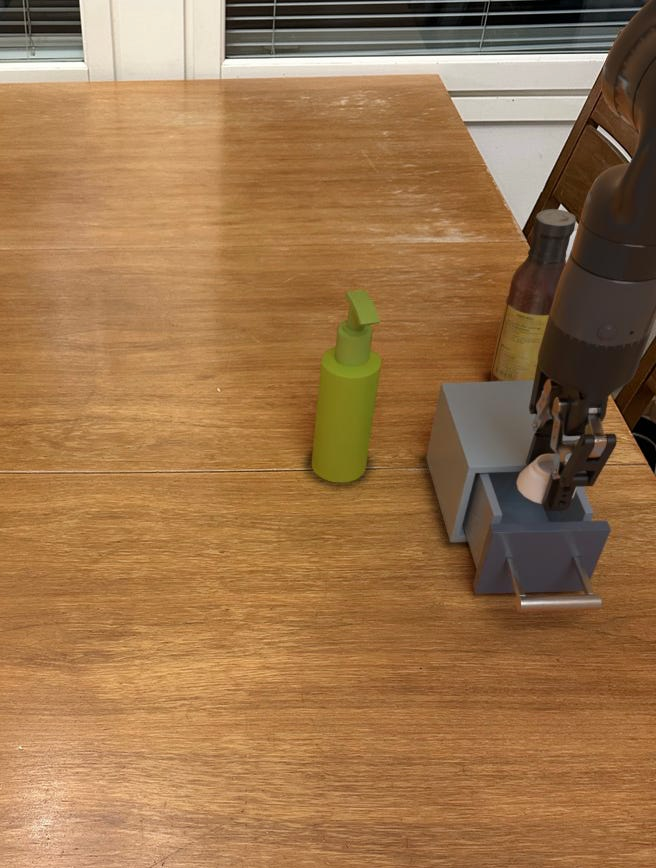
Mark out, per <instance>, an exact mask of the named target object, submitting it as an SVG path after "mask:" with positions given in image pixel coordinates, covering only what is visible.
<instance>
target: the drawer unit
mask: <svg viewBox="0 0 656 868" xmlns="http://www.w3.org/2000/svg"><path fill="white" fill-rule="evenodd" d="M533 384H534V380H524V381H491V380H490V381H462V382H441V383H440V387H439V392H438V396H437V402H436V407H435V411H434V418H433V422H432V427H431V431H430V436H429V441H428V446H427V451H426V456H425V459H426V462H427V466H428V469H429V473H430V476H431V480H432V483H433V487H434V490H435V494H436V497H437V501H438V505H439V508H440V512H441V515H442V518H443V522H444V525H445V530H446V532H447V536H448V539H449V543H468V540H467V536H466V533H465V530H464V526H463V520H464V516H465V513H466V509H467V505H468V501H469V497H470V493H471V489H472V485H473V481H474V477H475V473H498V472H522V471H523V470H524V469H525V468H526V467H527V465H526V459H527V456H528V453H529V449H530V446H531V443H532V440H533V436H534V433H536V432H534V431H533V427H532V424H533V420H534V418H535V416H536V414H530V411H529V405H530V400H531V395H532V389H533ZM543 392H544V390H543V391H542V394H543ZM579 438H580V436H564V435H563V441H567V440H576V439H579ZM571 454H572V453H568V454H567V455H566V457H565V458H566V459H567V460H569V458H570V456H571ZM586 487H587V486H583V489H584V491H585V489H586Z"/></svg>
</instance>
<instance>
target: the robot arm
mask: <svg viewBox="0 0 656 868" xmlns="http://www.w3.org/2000/svg"><path fill="white" fill-rule="evenodd" d="M600 82H601V85H600V86H601V92H602V96H603V99H604V101H605V103H606V104H607V106H608V107H609V110H611V111H612V112H613V113H614V114H615V115H616V116H617V117H618V118H620V120H621V121H623V122H624V123H625V124H627V125H628V126H629V127H630V128H631V129H632V130H634V131H635V132H636V133H637V134H638V137H637V138H638V139H637V143H636V148H635V150H634V152H633V156H632V158H631V159H630V161H629V162H624V163H621V164H620V163H619V164H617V165H613V166H611V167H609V168H607V169H606V170H604V171H603V172H601V173H600V174H599V175H598V176H596V179H595V180H594V182H593V183H592V184H591V186H590V189H589V190H588V193H587V195H586V198H585V201H584V204H583V208H582V211H581V215H580V217H579V222H578V226H577V229H576V232H575V236H574V239H573V243H572V247H571V250H570V252H569V255H568V258H567V259H566V265H565V267H564V269H563V271H562V274H561V276H560V279H559V282H558V285H557V289H556V293H555V296H554V300H553V303H552V307H551V310H550V314H549V317H548V321H547V324H546V328H545V331H544V335H543V338H542V342H541V346H540V349H539V353H538V362H537V368H536V373H535V378H534V384H533V389H532V395H531V400H530V405H529V411H530V414H536V416H535V418H534V420H533V424H532V427H533V431H534V432H536V433H534V436H533V440H532V443H531V446H530V449H529V453H528V456H527V459H526V465H527V466H528V465H529V464H531V463H532V462H533V461H535V459H536V458H537V457H539V456H540V455H543V454H555V456H554V462H553V469H552V473H551V475H550V478H549V481H548V484H547V488H546V491H545V494H544V497H543V500H542V505H543V508H544V510H545V511H563V510H566V509H567V508H568V507H569V506H570V503H571V500H572V497H573V494H574V491H575V489H576V487H583V486H586V487H593V486H594V485H595V484H596V481H597V480H598V478H599V476H600V474H601V472H602V471H603V469H604V468H605V466H606V464H607V462H608V460H609V458H610V457H611V455H612V453H613V451H614V450H615V448H616V446H617V441H618V440H617V435H616V433H615V432H614V433H605V431H604V427H603V424H602V423H603V421H604V420H605V418H606V414H607V409H608V403H609V397H610V396H611V395H612V394H613V393H615V392H616V391H617V390H619V389H621V388H623V387H624V386H627V384H628V383H630V382H631V381H632V380H633V379H634V378H635V376H636V374H637V372H638V371H637V370H638V368H639V365H640V363H641V359H642V357H643V355H644V352H645V349H646V346H647V344H648V341H649V339H650V336H651V332H652V330H653V328H654V325H655V323H656V0H649V1H648V2H647V3H645V4H644V5H643V6H642V7H641V8H640V9H639V10H638V11H637V12H636V14H634V15H633V17H632V18H631V19H630V20H629V21H628V22H627V24H626V25H625V26H624V27H623V29H622V30H621V32H620V33H619V35H618V36H617V38H616V39H615V41H614V42H613V44H612V46H611V48H610V50H609V52H608V54H607V56H606V59H605V62H604V65H603V68H602V72H601V80H600ZM543 390H544V392H543V394H542V391H543ZM563 435H564V436H580V438H579V439H576V440H567V441H563ZM568 453H572V454H571V456H570V458H569V460H568V462H567V463H566V465H564V463H565V457H566V455H567V454H568Z"/></svg>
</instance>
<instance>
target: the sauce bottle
mask: <svg viewBox="0 0 656 868" xmlns="http://www.w3.org/2000/svg"><path fill="white" fill-rule="evenodd" d="M576 222H577V218H576V216H575V215H574V214H573V213H572V212H569V211H566V210H564V209H563V210H562V209H558V208H557V209H556V208H550V209H544V210H541V211H538V212H537V213H536V215H535V219H534V223H533V235H532V239H531V243H530V248H529V249H528V252H527V257H526V258H525V260H524V261H523V262H522V263H521V264H520V265H519V266H518V267H517V268H516V270H515V271H514V273H513V275H512V278H511V281H510V286H509V292H508V294H507V295H508V296H507V297H506V299H505V304H504V309H503V313H502V318H501V322H500V327H499V331H498V335H497V340H496V344H495V349H494V354H493V358H492V363H491V367H490V372H491V373H490V382H491V381H524V380H534V378H535V373H536V368H537V362H538V353H539V349H540V346H541V342H542V338H543V335H544V331H545V328H546V324H547V321H548V317H549V314H550V310H551V307H552V303H553V300H554V296H555V293H556V289H557V285H558V282H559V279H560V276H561V274H562V271H563V269H564V267H565V265H566V263H567V252H568V248H569V244H570V239H571V236H572V235H573V233H574V232H575V227H576V224H577V223H576Z"/></svg>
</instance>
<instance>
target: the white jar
mask: <svg viewBox="0 0 656 868" xmlns="http://www.w3.org/2000/svg"><path fill="white" fill-rule="evenodd" d="M554 456H555V454H543V455H540V456H539V457H537V458H536V459H535V461H533V462H532V463H531V464H529V465H528V466H527V467H526V468H525V469H524V470H523V471H522V472H521V473H520V474H519V477H518V479H517V482H516V483H517V487H518V490H519V491H520V492H521V493H522V495H523V496H524V497H526V498H528V499H530V500H531V501H533V502H536V503H540V504H542V500H543V497H544V494H545V491H546V488H547V484H548V481H549V478H550V475H551V473H552V469H553V462H554ZM567 462H568V460H567V459H566V458H565V463H564V465H566V463H567ZM576 488H577V487H576ZM575 491H576V489H575ZM575 491H574V494H575ZM574 494H573V497H574ZM573 497H572V498H573Z"/></svg>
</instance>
